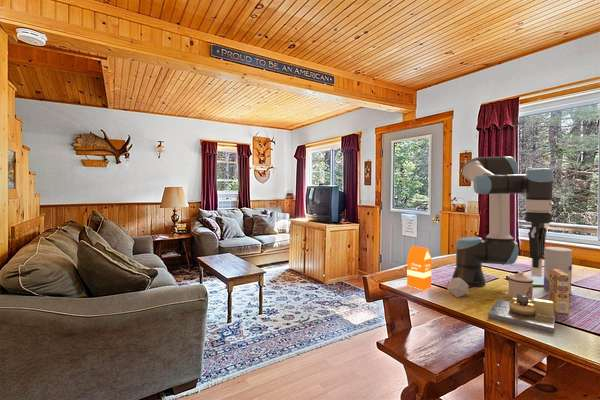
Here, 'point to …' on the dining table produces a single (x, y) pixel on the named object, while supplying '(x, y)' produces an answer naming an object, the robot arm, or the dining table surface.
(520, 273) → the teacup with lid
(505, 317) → the flange plate
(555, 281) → the candy box
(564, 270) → the container
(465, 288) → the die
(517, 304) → the beige lumpy block
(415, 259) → the orange juice
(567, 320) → the dining table surface
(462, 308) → the dining table surface
